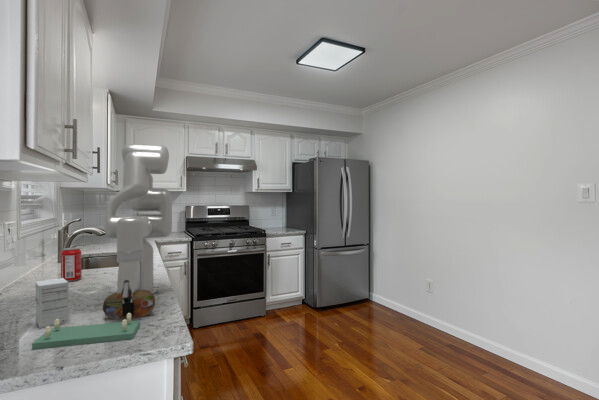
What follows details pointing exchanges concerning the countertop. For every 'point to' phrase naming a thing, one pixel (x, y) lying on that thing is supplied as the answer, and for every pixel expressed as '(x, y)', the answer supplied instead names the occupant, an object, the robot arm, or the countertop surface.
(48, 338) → the green peg board
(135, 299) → the tin
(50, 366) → the countertop surface
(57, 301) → the supplement box
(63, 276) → the soda can
